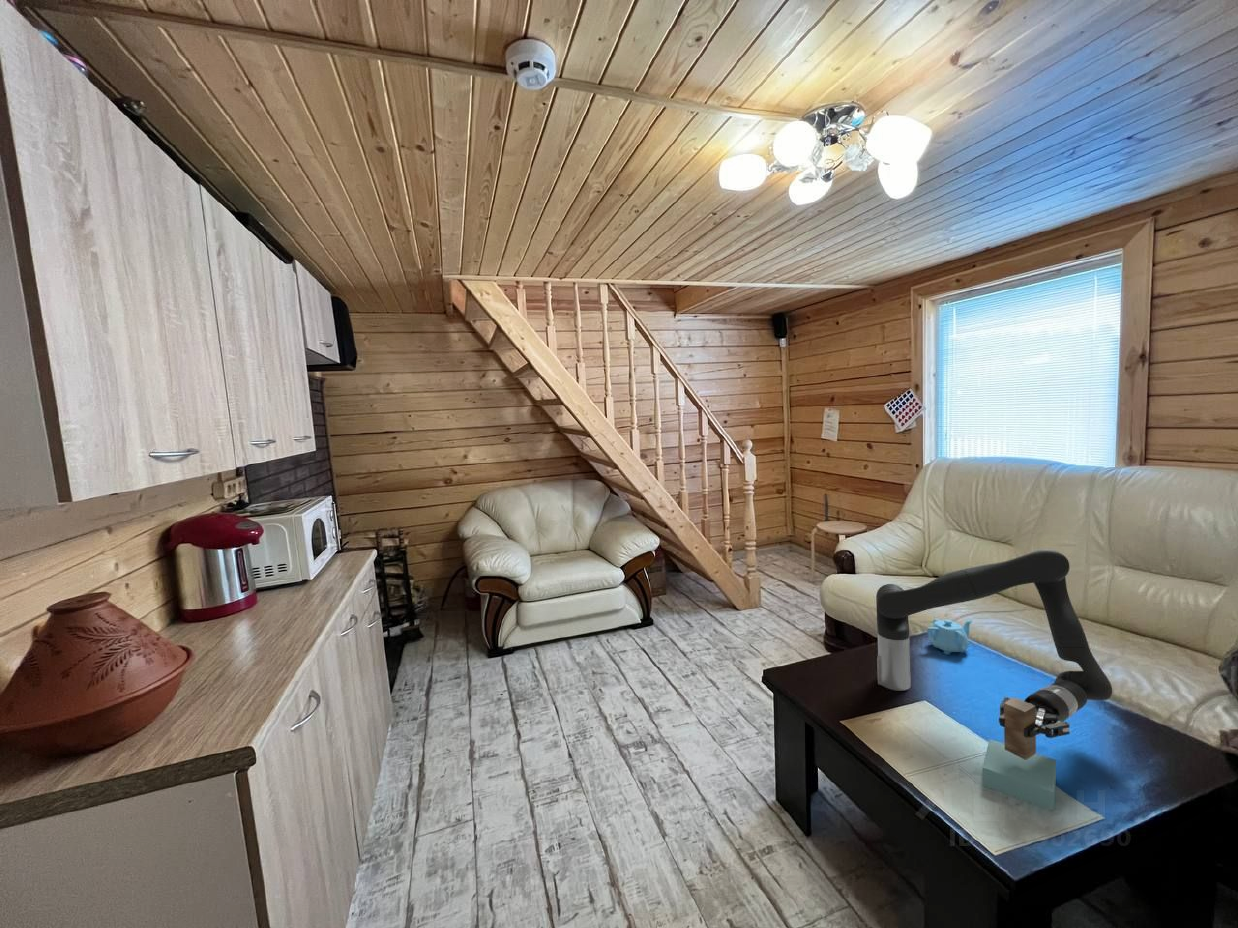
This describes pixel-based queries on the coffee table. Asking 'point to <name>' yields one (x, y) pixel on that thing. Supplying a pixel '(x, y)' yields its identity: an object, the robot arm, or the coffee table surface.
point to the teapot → (949, 635)
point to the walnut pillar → (1019, 728)
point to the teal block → (1020, 775)
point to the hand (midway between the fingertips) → (1013, 727)
